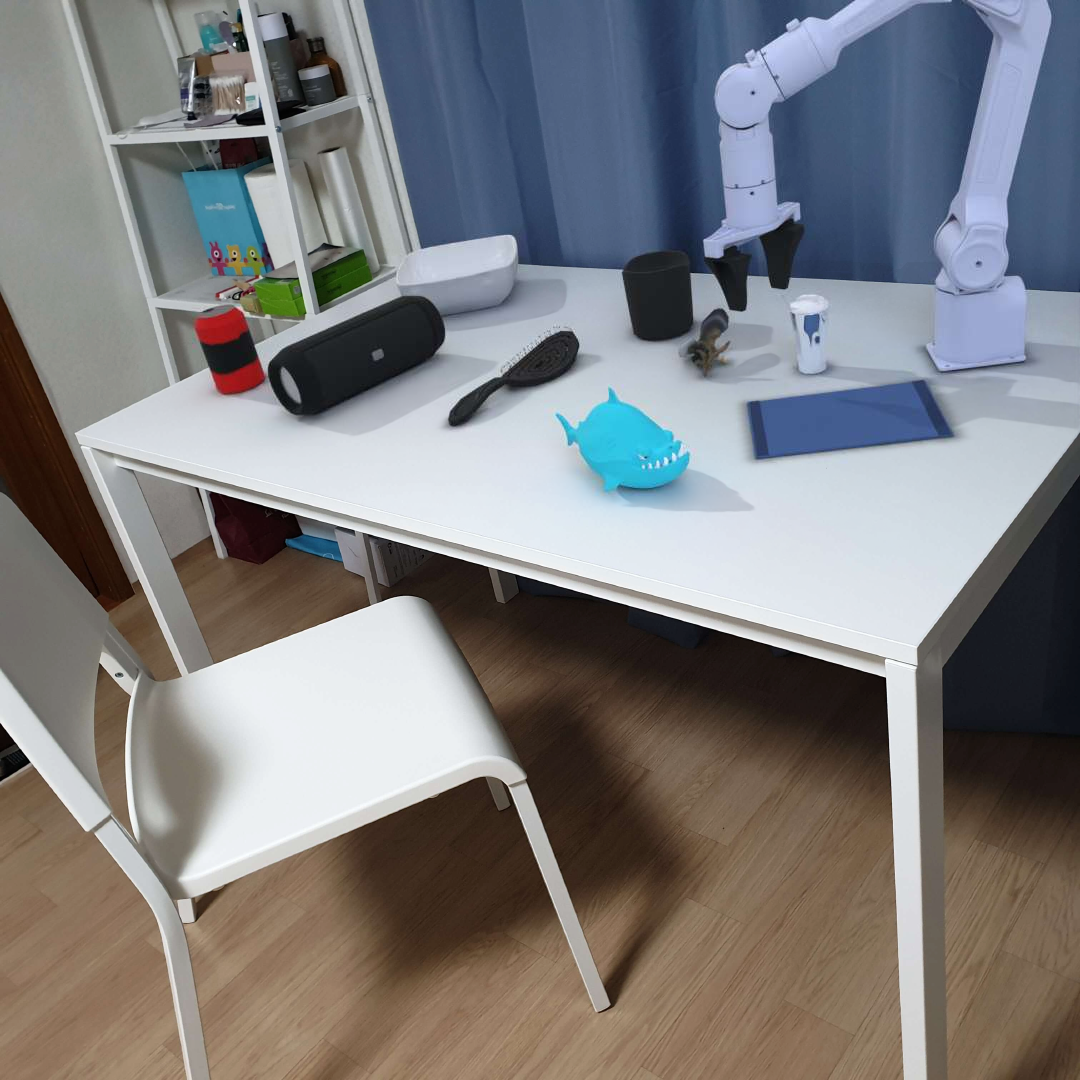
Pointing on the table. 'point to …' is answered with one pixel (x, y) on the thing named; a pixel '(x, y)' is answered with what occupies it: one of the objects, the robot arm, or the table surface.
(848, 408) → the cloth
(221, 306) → the soda can
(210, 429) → the table surface
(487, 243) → the bowl
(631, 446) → the toy shark
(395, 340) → the portable speaker
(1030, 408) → the table surface
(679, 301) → the pen holder
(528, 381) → the hairbrush
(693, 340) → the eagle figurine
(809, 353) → the milkshake
